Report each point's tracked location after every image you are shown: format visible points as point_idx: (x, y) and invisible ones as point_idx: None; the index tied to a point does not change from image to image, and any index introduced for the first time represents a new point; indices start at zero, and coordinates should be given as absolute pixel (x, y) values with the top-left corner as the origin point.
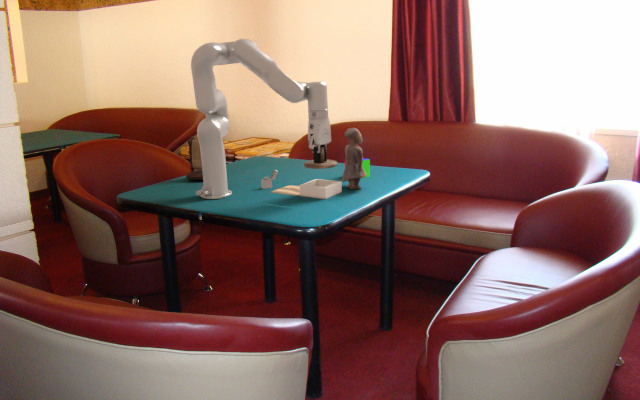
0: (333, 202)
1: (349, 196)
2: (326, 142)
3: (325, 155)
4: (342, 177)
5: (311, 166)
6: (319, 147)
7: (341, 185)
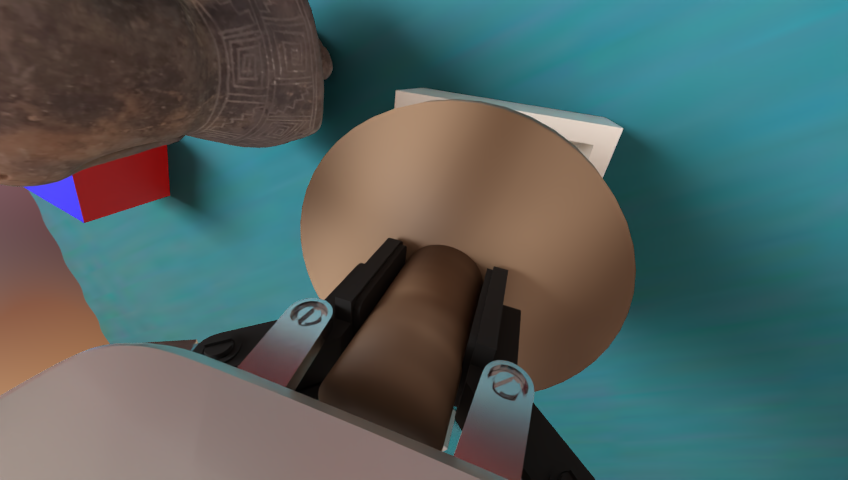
0: (655, 42)
1: (472, 3)
2: (288, 416)
3: (378, 275)
4: (289, 136)
5: (618, 323)
6: (478, 440)
7: (406, 89)
